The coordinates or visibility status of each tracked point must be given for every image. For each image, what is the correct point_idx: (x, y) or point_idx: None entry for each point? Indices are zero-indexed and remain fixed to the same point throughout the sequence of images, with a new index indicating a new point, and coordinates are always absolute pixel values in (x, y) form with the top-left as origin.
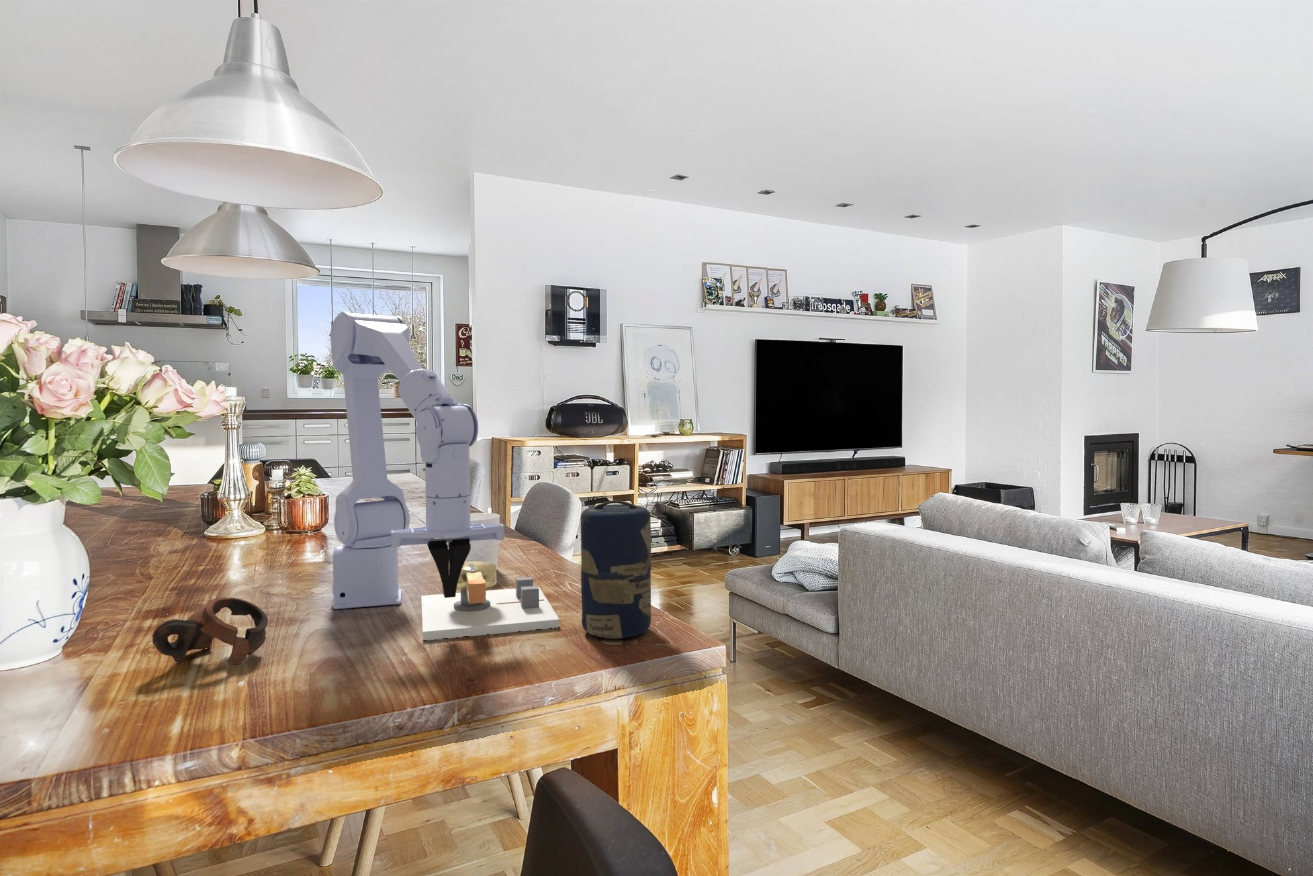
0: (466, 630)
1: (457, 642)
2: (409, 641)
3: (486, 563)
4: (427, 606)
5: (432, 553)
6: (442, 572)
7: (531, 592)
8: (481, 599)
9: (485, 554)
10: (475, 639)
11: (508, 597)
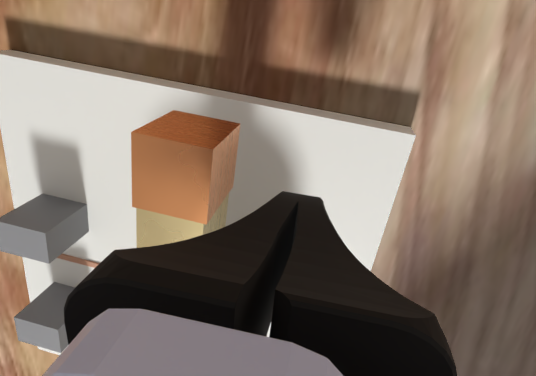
0: (272, 104)
1: (314, 61)
2: (449, 145)
3: None
4: None
5: (438, 323)
6: (333, 245)
7: (25, 220)
8: (185, 117)
9: None
10: (256, 63)
11: None
